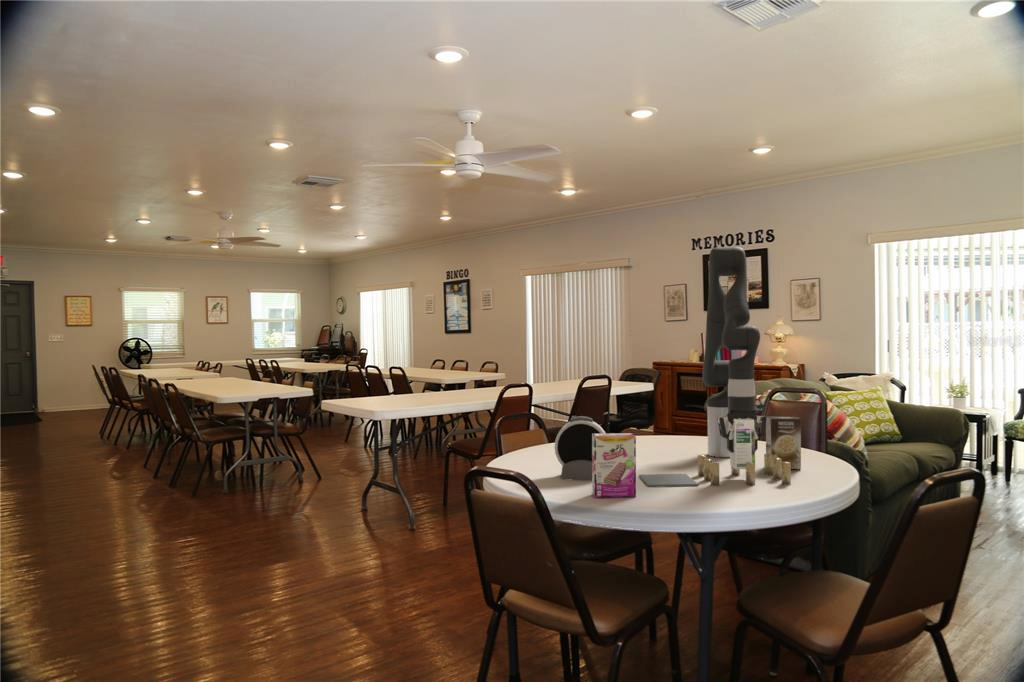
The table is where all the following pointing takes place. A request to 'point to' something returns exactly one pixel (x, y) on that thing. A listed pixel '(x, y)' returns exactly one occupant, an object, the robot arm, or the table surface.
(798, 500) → the table surface
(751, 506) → the table surface
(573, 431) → the alarm clock
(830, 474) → the table surface
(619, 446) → the candy bar box
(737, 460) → the syrup box
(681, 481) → the mat
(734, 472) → the spacer field
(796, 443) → the coffee box
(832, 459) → the table surface
